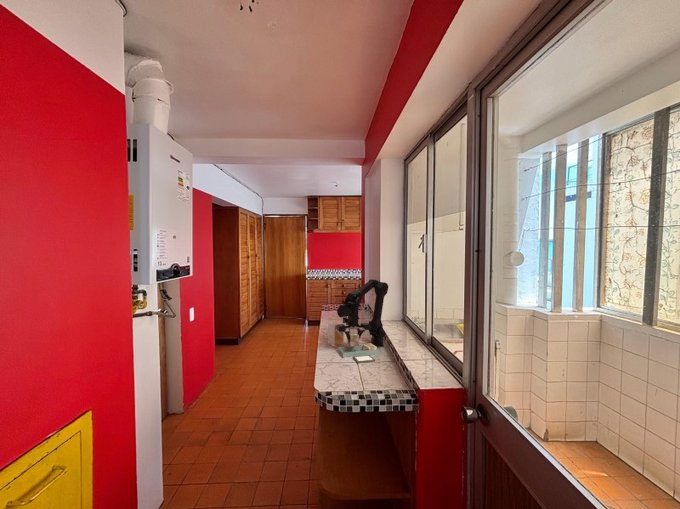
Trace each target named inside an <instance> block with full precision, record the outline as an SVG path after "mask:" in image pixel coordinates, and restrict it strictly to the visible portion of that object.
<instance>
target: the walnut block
mask: <svg viewBox="0 0 680 509" xmlns="http://www.w3.org/2000/svg"><path fill="white" fill-rule="evenodd" d="M347 345H348V346H359V345H360V339H359V335H358V334H357V332H352V333H351V332H350V342H348V341H347Z"/></svg>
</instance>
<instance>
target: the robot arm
mask: <svg viewBox="0 0 680 509" xmlns="http://www.w3.org/2000/svg"><path fill="white" fill-rule="evenodd" d="M373 289H374V294H375V300H374V308H373V316H372V319H371V321H370V320H369V321H368V323H367V322H361V323H360V324H359V320H360V317H359V311H360V310H359V309H360V307H362V305H361V301H362V300H363V298H364V296H365V295H366V294H368V293H369V292H371V291H372V290H373ZM388 291H389V285H388V283H387V282H383V281H379V280H377V279H373V278H371V279H369V280H368V281H367V282H365V284H363V285H361V287H359V288H358V289H356V290H352V291H349V292H348V293H347V295H346V298H345V300H344V302H343V303H342V304H340V305H339V307H338V308H337V310H336V314H337V316H338V317H339V318H342V323H344V324H339V325H337V330H338V331H339V332H344V334H345V336H346V340H347V343H348V342H350V333H351V332H350V330H352V329H353V330H354V329H356V330H357V332H356V333H357V334H358V335H359V340H360V339H361V337H362V335H363V333H364V332H366V331H367V330H368V333H369V336H371V337H370V343H371V344H373V345H374V346H376V348H383V347H385V345H384V338H385V337H386V334H387V333H386V331H385V330H384V328H383V327H384V326H383V322H382V314H383V309H384V308H383V307H384V299H385V297H386V296H387V294H388Z"/></svg>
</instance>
